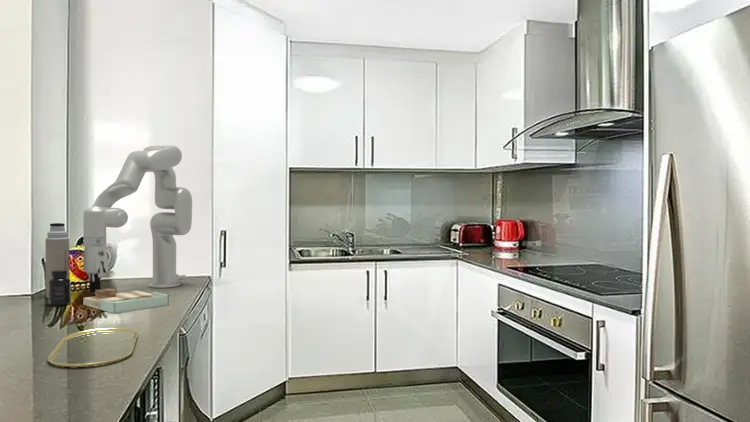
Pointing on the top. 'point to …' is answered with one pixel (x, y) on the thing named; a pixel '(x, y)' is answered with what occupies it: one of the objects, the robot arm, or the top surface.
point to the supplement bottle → (59, 288)
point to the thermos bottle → (56, 252)
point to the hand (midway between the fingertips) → (95, 291)
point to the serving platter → (61, 343)
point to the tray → (134, 303)
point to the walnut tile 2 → (105, 293)
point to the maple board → (114, 298)
